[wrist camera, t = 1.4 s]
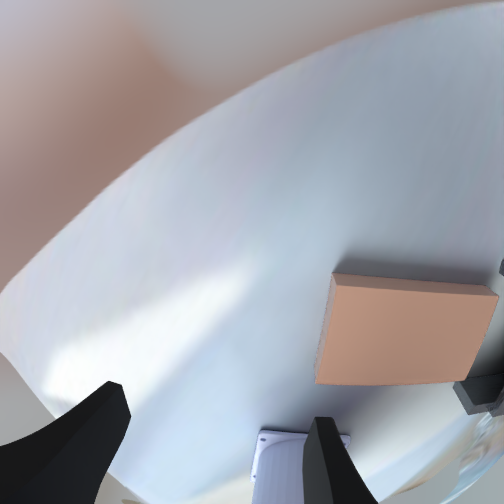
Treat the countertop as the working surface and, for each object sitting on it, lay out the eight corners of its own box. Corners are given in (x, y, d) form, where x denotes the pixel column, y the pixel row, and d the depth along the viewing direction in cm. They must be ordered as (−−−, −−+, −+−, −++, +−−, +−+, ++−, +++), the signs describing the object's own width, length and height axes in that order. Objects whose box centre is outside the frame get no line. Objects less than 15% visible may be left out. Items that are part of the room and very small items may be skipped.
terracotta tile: (453, 362, 19) (464, 380, 17) (313, 362, 20) (315, 383, 18) (482, 283, 17) (499, 296, 15) (331, 270, 18) (336, 285, 16)
